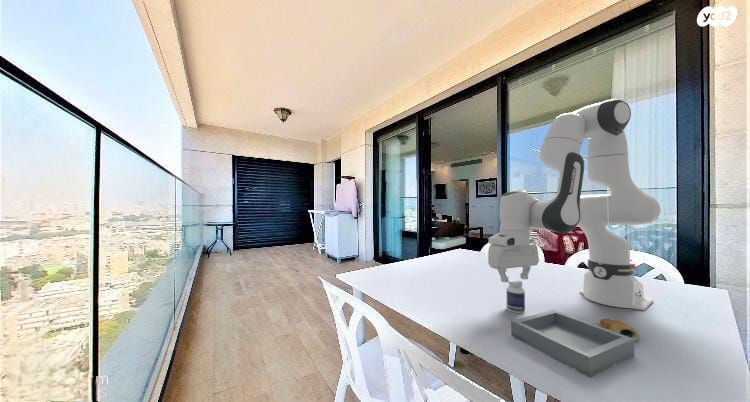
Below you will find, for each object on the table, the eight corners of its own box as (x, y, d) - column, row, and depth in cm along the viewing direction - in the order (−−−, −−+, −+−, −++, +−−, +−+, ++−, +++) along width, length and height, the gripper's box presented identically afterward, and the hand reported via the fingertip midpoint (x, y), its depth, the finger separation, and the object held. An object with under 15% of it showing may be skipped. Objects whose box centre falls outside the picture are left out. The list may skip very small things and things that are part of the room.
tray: (553, 323, 76) (553, 309, 76) (634, 356, 59) (634, 338, 59) (511, 335, 69) (511, 320, 69) (589, 377, 52) (589, 357, 52)
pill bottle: (527, 314, 82) (527, 284, 82) (509, 313, 83) (509, 283, 83) (521, 307, 87) (521, 279, 87) (504, 306, 88) (504, 278, 88)
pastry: (592, 324, 76) (592, 311, 76) (619, 327, 74) (619, 313, 74) (612, 340, 67) (612, 325, 67) (644, 344, 65) (644, 329, 65)
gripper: (526, 236, 92) (526, 275, 92) (484, 238, 84) (484, 280, 84) (543, 238, 87) (544, 279, 86) (501, 240, 78) (501, 286, 78)
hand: (514, 280), depth 85 cm, fingers open, 8 cm apart
